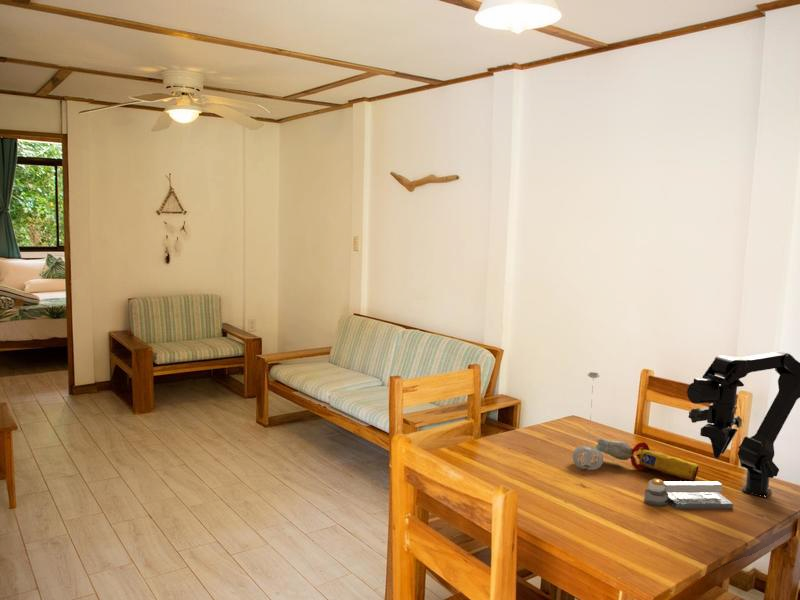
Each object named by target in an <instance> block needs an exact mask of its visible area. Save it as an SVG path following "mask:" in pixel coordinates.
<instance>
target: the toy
mask: <svg viewBox="0 0 800 600" xmlns="http://www.w3.org/2000/svg"><path fill="white" fill-rule="evenodd" d="M596 441H597V445H596V446H595V448H596V449H598V450H599V451H600V452H601V453H604V454H606V455H609V456H611V457H612V458H614V459H616V460H620V461H627V460H629V459H630V461H631V465H632V467H633V468H634V469H635V470H637V471H643V469H644V468H648V469H651V470H655V471H657V472H661V473H666V474H667V475H671V476H676V477H678V478H680V479H683V480H685V479H686V480H689V482H695V481H696V479H697V475H698V472H699V464H698V463H695V462H691V461H688V460H684V459H682V458H680V457H679V458H678V457H675V456H669V455H667V454H664V453H663V452H660V451H656V450H654V449H650V447H649V445H648V444H647V442H645V441H642V442H638V443H637V444H636V445H634V446H633V448H632V447H631V445H630V444H629V443H627V442H625V441H623V440H622V441H617V440H608V439H604V438H597V439H596ZM640 450H641V452H640V453H637V454H636V457H635V455H634V454H635V452H638V451H640ZM637 459H638V460H639V464H638V462H637Z"/></svg>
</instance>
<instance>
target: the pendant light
mask: <svg viewBox="0 0 800 600" xmlns="http://www.w3.org/2000/svg"><path fill="white" fill-rule="evenodd" d="M587 377H589V378H592V380H594V379H597V378H600V375H599V373H597V372H593V371H592V372H589V373H588V374H587ZM593 388H594V386H592V390H591V393H593V392H594V389H593ZM592 403H593V400H591V403H590V404H591V405H590V407H592V406H593V404H592ZM591 418H592V415H590V417H589V422H591ZM588 433H589V434H588V437H590V433H591V430H589V432H588ZM571 456H572V457H571V458H572V461H573V463H574V464H575V466H576V467H578V468H579V469H582V470H588V471H589V470H590V471H593V470H594V471H595V470H597V469H599V468H601V467H602V465H603V464H604V456H603V452H602V451H599V450H598V449H596V447H594V446H590V444H588V446H587V445H581V446H578V447H576V448H575V449H574V450H573V452H572V455H571ZM592 460H593V461H592ZM587 466H589V467H587Z"/></svg>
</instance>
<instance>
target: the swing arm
mask: <svg viewBox="0 0 800 600" xmlns="http://www.w3.org/2000/svg"><path fill="white" fill-rule="evenodd" d="M647 489H648V491H649V492H650V493H652V494H656V495H664V494H665V492H666V493H693V492H718V493H722V492H723V484H722V483H721V482H719V481H663V480H662V479H660V478H652V479H650V480H648V488H647Z"/></svg>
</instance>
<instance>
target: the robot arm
mask: <svg viewBox="0 0 800 600" xmlns="http://www.w3.org/2000/svg"><path fill="white" fill-rule="evenodd" d="M773 369H774V371H775V372H776V373H777V374H778V375H779V376H778V380H777V384H778V385H777V386H778V392H777V393H776V396H775V397H774V400H773V401H772V402H771V403H772V404H771V405H770V407H769V409H768V410H767V413H766V414H765V416H764V417H763V420H762V421H761V423H760V425H759V428H758V429H757V431H756V433H755V434H754V435H752V436H750V437H749V436H745V437H743V438H742V442H741V443H740V445H739V446H738V447H737V448H738V451H737V456H738V460H739V463H740V466H741V468H744V469H746V470H747V471H746V479H745V480H746V481H745V485H744V486H743V487H742V489H741V492H742V491H744V492H743V493H746V492H748V493H747V494H749V493H753V494H757V495H761V496H764V495H765V496H766V497H767V496H769V495H770V494H771V493H772V489H770V488H769V485H770V479H773V478H774V477H777V476H778V474H779V471H780V468H779V467H778V466H777V465H776V464H775V462H774V461H773V459H774V457H775V446H774V445H775V444H774V443H775V441H776V440H777V438H778V436H779V433H780V432H781V430H782V429H783V426H784V424H785V423H786V421H787V419H788V417H789V415H790V413H791V412H792V410H793V407H794V406H795V404H796V403H797V401H798V400H799V399H800V361H798V360H797V359H796V358H795V357H794V356H793V355H792V354H791V353H788V352H784V351H779V350H774V351H772V352H768V353H761V354H754V355H747V356H734V355H733V356H732V355H718V356H715V357H714V360H713V361H712V362H711V364H710V365H709V367H708V368H707V369H706V371H705V373H704V374H702V378H698V377H697V378H693V382H691V383H690V384H689V386H688V388H687V389H686V394H687V398H688V400H689V402H691V403H692V404H693V405H694V404H695V405H697V404H699V405H701V404H709V405H708V406H706V407H704V406H703V407H696V408H692V409H690V410H689V412H688V418H689V420H691V423H693V424H694V423H695V424H696V423H697V422H698V423H699V422H703V421H704V422H705V421H706V423H707V424H705V425H704V426H702V427H701V428H700V433H699V434H700V435H699V436H701V437H703V438H708V439H709V441H710V443H711V447H712V453H713V457H714V458H715V459H719V458H720V456H721V455H724V453H725V452H726V450H727V449H728V446H729V445H730V443H731V442H732V440H733V439H734V436H735V435H736V434H737V432H738V431H739V430H738V429H739V428H740V427H742V421H743V419H742V418H741V417H740V415H735V414H736V413H735V412H736V410H738V405H737V403H736V401H737V394H738V393H737V391H738V387H744V386H745V384H744V383H743V382H742V381H741V380H740V379H743V378H745V377H746V376H747V375H748V374H750V373H754V372H760V371H767V370H773ZM734 425H735V427H736V428H733V426H734ZM737 428H738V429H737ZM770 492H771V493H770ZM769 493H770V494H769ZM753 494H752V495H753ZM768 494H769V495H768ZM757 495H756V496H757ZM761 496H760V497H761ZM767 498H768V497H767Z"/></svg>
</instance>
